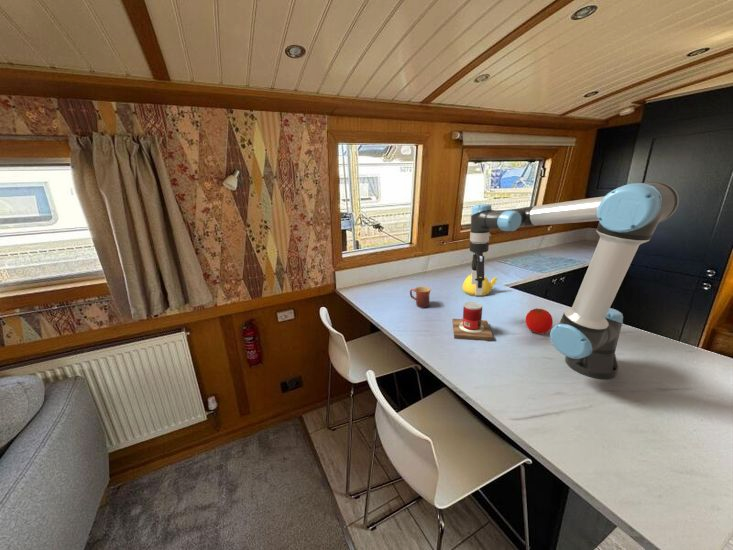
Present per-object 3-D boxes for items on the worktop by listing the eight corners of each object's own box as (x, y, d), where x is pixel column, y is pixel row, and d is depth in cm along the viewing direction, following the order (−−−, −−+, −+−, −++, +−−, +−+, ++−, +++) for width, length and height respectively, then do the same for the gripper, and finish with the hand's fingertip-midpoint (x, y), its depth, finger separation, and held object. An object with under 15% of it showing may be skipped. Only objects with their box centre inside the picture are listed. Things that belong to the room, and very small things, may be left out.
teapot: (463, 296, 173) (464, 276, 170) (460, 286, 191) (461, 267, 187) (498, 298, 169) (500, 277, 165) (493, 287, 186) (494, 268, 182)
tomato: (550, 328, 132) (554, 307, 128) (551, 339, 123) (554, 316, 120) (524, 324, 137) (527, 303, 134) (523, 333, 128) (526, 312, 125)
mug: (432, 304, 165) (432, 287, 162) (428, 310, 158) (428, 292, 154) (412, 301, 170) (412, 285, 167) (407, 306, 163) (407, 290, 160)
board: (492, 341, 124) (493, 336, 123) (454, 338, 128) (454, 333, 127) (486, 324, 139) (487, 319, 138) (452, 322, 142) (452, 318, 142)
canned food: (482, 331, 128) (483, 308, 125) (463, 330, 130) (464, 308, 126) (479, 323, 135) (480, 301, 132) (461, 322, 137) (462, 301, 133)
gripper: (494, 248, 108) (490, 299, 114) (483, 236, 131) (481, 280, 138) (473, 248, 110) (471, 299, 116) (466, 237, 133) (464, 280, 139)
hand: (476, 289), depth 127 cm, fingers open, 13 cm apart
